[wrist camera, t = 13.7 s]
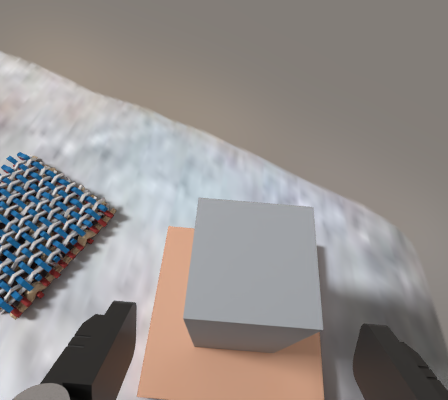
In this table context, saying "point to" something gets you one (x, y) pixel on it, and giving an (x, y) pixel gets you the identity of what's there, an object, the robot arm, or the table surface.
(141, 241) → the table surface
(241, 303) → the plain grey block
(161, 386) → the terracotta tile
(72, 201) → the woven mat
